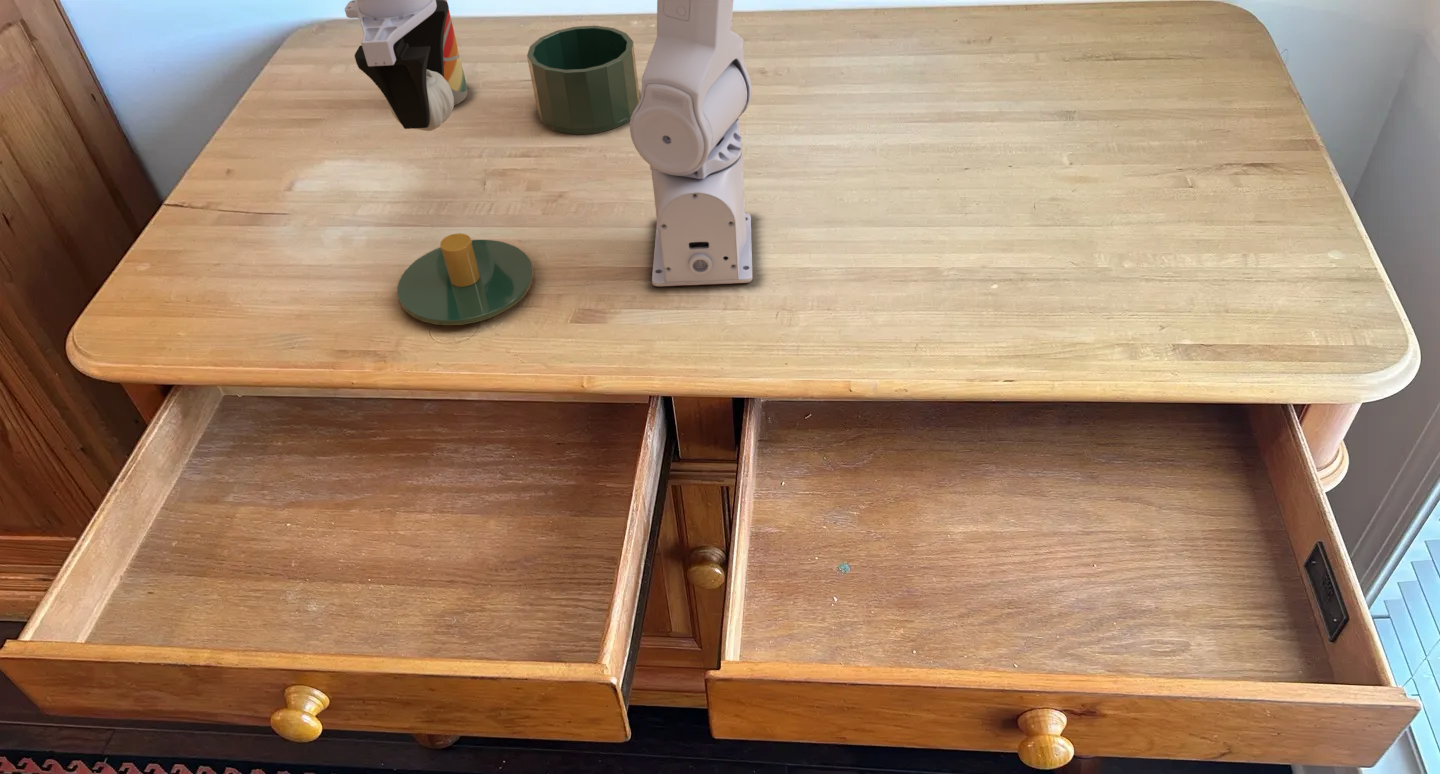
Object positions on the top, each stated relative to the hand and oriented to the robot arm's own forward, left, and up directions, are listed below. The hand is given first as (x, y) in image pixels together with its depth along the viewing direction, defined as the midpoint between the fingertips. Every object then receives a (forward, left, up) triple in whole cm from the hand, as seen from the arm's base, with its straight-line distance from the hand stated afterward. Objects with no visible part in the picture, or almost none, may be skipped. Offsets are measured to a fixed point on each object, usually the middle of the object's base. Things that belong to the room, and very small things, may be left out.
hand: (424, 108), depth 90 cm
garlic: (0, 0, -2) cm, 2 cm away
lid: (-14, -4, -8) cm, 17 cm away
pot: (+16, -11, -9) cm, 21 cm away
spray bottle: (+20, +5, -9) cm, 22 cm away
